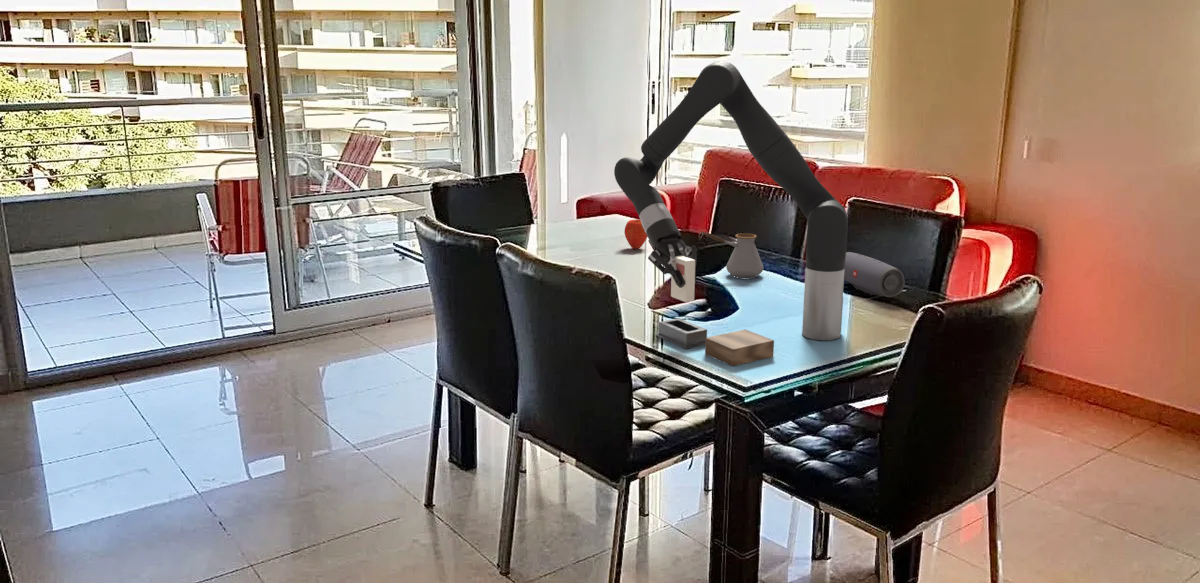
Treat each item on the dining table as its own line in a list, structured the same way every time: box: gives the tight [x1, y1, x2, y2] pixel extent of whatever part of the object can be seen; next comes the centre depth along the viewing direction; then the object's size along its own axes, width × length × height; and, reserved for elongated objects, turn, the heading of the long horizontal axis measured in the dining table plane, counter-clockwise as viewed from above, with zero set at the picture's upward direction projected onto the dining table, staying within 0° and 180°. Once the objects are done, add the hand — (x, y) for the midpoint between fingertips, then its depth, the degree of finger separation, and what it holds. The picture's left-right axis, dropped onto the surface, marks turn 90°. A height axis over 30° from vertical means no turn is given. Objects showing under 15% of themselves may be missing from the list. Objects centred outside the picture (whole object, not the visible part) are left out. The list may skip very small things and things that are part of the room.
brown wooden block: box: [704, 328, 775, 367], centre depth 214 cm, size 12×10×4 cm
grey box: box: [655, 317, 708, 350], centre depth 226 cm, size 7×12×4 cm, turn 32°
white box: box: [670, 256, 696, 303], centre depth 222 cm, size 3×6×10 cm, turn 32°
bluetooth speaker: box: [844, 251, 906, 298], centre depth 267 cm, size 23×9×10 cm, turn 18°
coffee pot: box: [698, 231, 764, 279], centre depth 284 cm, size 21×12×15 cm, turn 108°
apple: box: [624, 218, 648, 250], centre depth 325 cm, size 9×8×11 cm
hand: (688, 284), depth 221 cm, fingers closed on white box, 2 cm apart
